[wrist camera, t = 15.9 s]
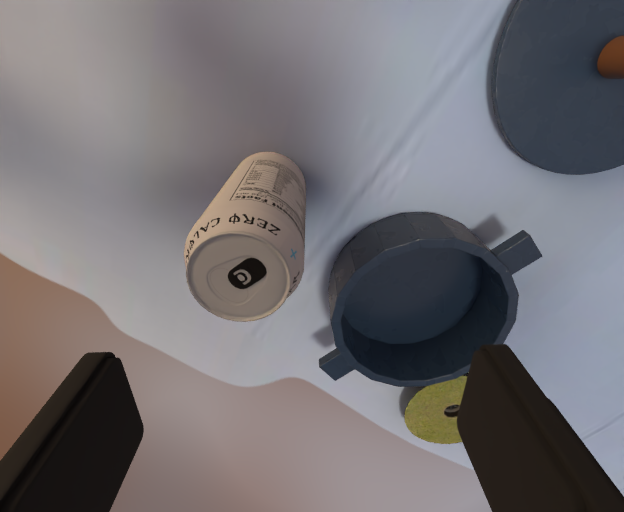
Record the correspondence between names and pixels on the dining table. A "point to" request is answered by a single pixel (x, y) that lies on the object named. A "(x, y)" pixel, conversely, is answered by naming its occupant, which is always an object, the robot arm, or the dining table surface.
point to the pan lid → (563, 84)
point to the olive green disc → (436, 411)
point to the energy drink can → (250, 240)
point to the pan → (421, 299)
